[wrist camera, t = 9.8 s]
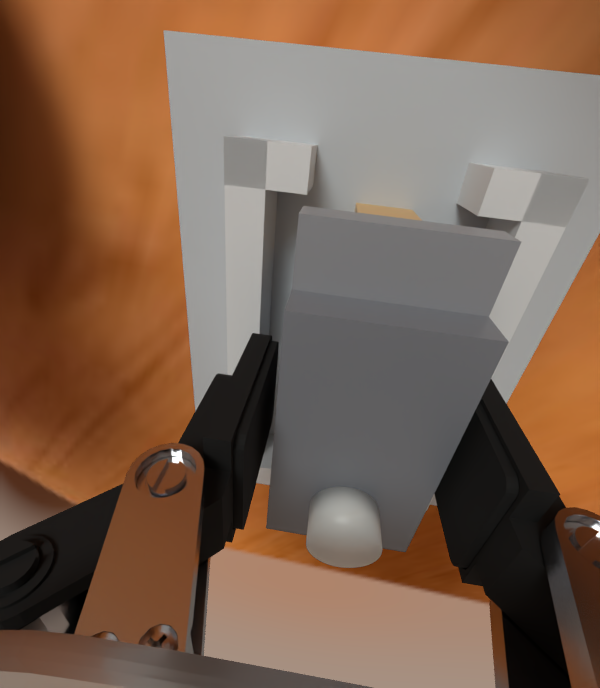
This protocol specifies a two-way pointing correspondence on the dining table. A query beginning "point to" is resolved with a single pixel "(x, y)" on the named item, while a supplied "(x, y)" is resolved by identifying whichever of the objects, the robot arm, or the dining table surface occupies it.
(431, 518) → the dining table surface
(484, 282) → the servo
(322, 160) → the pocket
